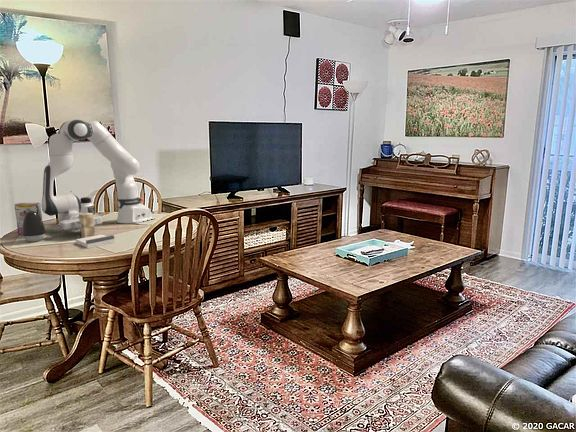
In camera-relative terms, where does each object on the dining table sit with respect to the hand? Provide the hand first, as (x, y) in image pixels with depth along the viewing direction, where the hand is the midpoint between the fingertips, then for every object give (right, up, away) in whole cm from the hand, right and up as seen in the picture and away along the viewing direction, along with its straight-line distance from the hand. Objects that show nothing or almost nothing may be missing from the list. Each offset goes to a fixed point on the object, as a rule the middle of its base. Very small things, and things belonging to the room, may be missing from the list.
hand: (87, 224), depth 222 cm
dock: (+9, -9, -10) cm, 16 cm away
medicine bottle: (-25, +4, +54) cm, 60 cm away
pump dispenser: (-24, -8, -5) cm, 26 cm away
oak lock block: (-1, -6, +2) cm, 7 cm away
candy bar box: (-35, -5, +10) cm, 37 cm away
